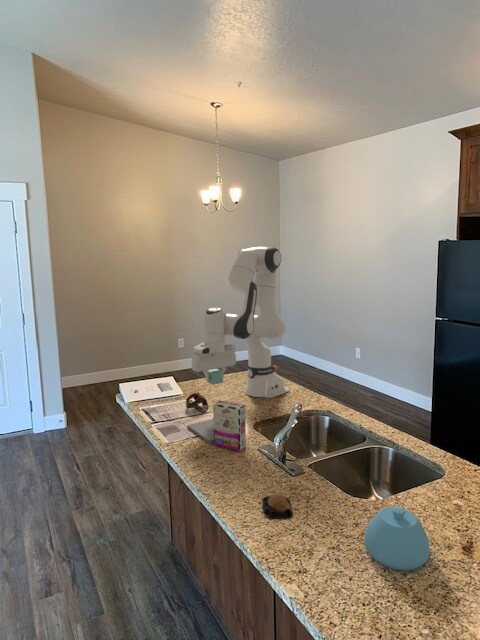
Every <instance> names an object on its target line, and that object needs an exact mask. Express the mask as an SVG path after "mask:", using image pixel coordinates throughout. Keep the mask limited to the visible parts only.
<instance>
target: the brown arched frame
mask: <svg viewBox="0 0 480 640" xmlns="http://www.w3.org/2000/svg"><path fill="white" fill-rule="evenodd" d="M191 399H193V400H194V401H192V402H189V401H190V400H191ZM185 400H186V401H185V407H186V409H187V410H190V409H195V408H199V405H200V404H201V405H202V407H206V409H207V410H209V405H208V404H209V403H208V401H207V399H206V397H205V396H204V395H202V394H201V393H200V392H198V391H197V392H193V393H191V394H190V395H188V397H187V398H186V399H185Z"/></svg>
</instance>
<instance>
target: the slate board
mask: <svg viewBox="0 0 480 640" xmlns="http://www.w3.org/2000/svg"><path fill="white" fill-rule="evenodd" d="M187 429H189V431H191V432H192V433H194V434H195V435H196V436H198V437H200V438H201V439H203V440H204V441H205V442H206V443H208V444H209V445H211V444H214V418H211V419H207V420H202V421H198V422H195V423H190V424H187Z"/></svg>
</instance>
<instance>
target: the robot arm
mask: <svg viewBox="0 0 480 640" xmlns="http://www.w3.org/2000/svg"><path fill="white" fill-rule="evenodd" d="M281 254H282V253H281V252H280V250H279V249H278V248H276V247H273V246H257V247H250V248H249V247H245V248H242V249H239V251H238V252H237V254H236V258H235V260H234V261H233V263H232V265H231V268H230V271H229V274H228V282H229V285H230V286H231V288H233V289H234V290H235V291H236V292H238V293H240V294H242V295H243V296H244V300H243V301H244V302H243V307H242V312H241V313H240V314H235V313H233V314H232V313H227V312H224V310H223V308H221V307H209V308H208V309H206V310H204V311H205V312H204V315H203V332H204V336H203V342H201V343H199V344H197V345H195V346H193V348H192V351H193V353H192V356H191V369H192V370H193V371H194V372H195V373H196V372H197V373H200V372H203V374H204V375H205V380H206V381H207V380H210V379H211V376H210V375H208V373H207V372H208V370H212V369H220V370H221V371H223V378H224V374H225V371H226V370H227V367H232V366H235V365H236V364H237V356H236V347H235V345H234V344H231V343H230V344H226V339H225V336H226V337H232V338H236V339H242V340H243V341H244V343H245V345H246V348H247V355H248V364H247V382H246V383H247V384H246V388H245V392H244V394H245V395H246V396H247V395H248V396H250V397H254V398H266V399H267V398H268V399H272V398H274V397H277V396H280V395H282V394H286V393H288V392H290V389H289V388H288V387H287V386H286V385H285V381H284V379H283V377H281V376H280V375H279V374H278V373H276V372H275V371H277V370H278V368H279V366H277V365H275V364H274V365H272V352H271V348H270V347H269V346H267V345H266V344H265V343H264V342H263V340H262V339H267V340H268V339H269V340H274V339H275V340H277V339H281V338H283V336H284V335H285V333H286V331H287V330H286V328H287V325H286V322H285V321H284V319H282V317H281V316H280V315H279V313H278V311H277V308H276V300H275V299H276V288H277V271H276V270H278V269H279V267H280V265H281V263H282V255H281ZM256 308H258V309H259V312H260V315H259V314H255V312H256ZM274 370H275V371H274Z"/></svg>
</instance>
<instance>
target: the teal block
mask: <svg viewBox="0 0 480 640" xmlns="http://www.w3.org/2000/svg"><path fill="white" fill-rule="evenodd" d="M207 373H208V375H210V376H211V379H210V380H206V383H208V384H209V385H213V386H214V385H219V384H223V383H224V377H223V371H221V369H219V368H217V369H211V370H208V372H207Z"/></svg>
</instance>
